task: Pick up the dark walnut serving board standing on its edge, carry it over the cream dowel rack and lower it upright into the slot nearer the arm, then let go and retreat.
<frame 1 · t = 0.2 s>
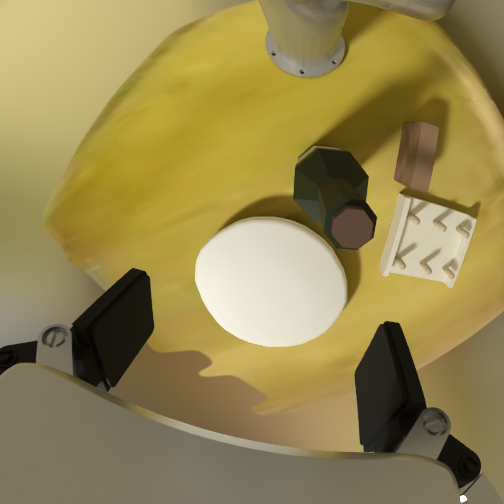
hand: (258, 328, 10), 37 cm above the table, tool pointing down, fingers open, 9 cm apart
wine bottle: (321, 169, 42), on the table
rack: (426, 239, 42), on the table
plate: (272, 280, 52), on the table
walnut board: (406, 153, 38), on the table
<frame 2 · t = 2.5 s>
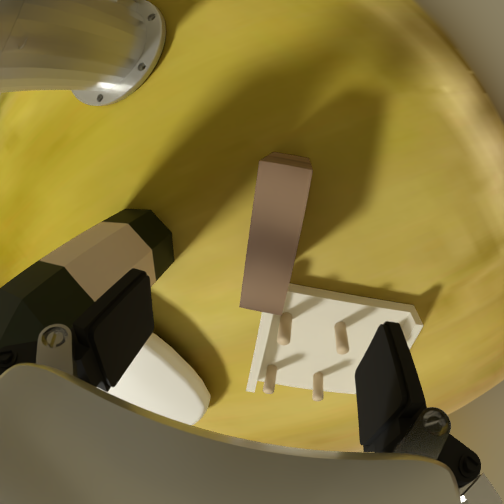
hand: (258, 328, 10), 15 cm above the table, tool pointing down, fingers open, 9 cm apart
wine bottle: (142, 243, 28), on the table
rack: (327, 343, 29), on the table
plate: (130, 361, 38), on the table
walnut board: (281, 210, 24), on the table
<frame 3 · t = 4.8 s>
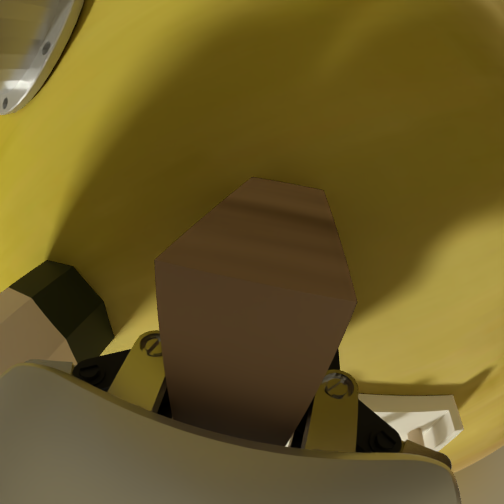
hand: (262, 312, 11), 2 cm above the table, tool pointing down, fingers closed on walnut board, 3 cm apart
wine bottle: (74, 306, 17), on the table
rack: (332, 439, 18), on the table
walnut board: (269, 286, 13), on the table, touching gripper
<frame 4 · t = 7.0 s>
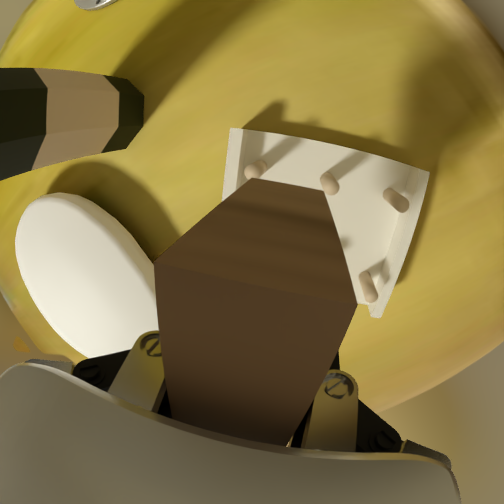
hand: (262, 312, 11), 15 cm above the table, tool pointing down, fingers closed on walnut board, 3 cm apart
wine bottle: (115, 115, 24), on the table
rack: (316, 219, 24), on the table
plate: (94, 281, 34), on the table
walnut board: (268, 287, 13), point 13 cm above the table, touching gripper
when the fingers open (5 cm above the table, at t = 9.3 s): walnut board drops 2 cm, resting on rack.
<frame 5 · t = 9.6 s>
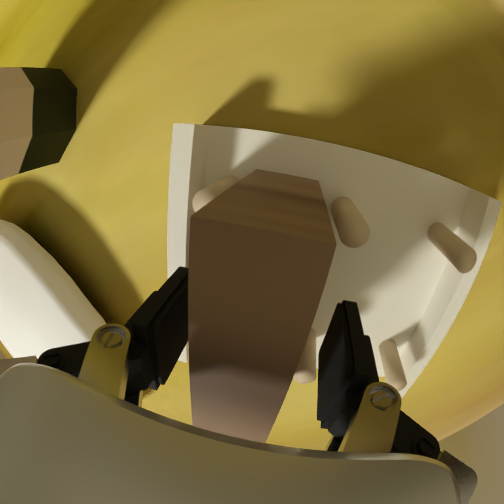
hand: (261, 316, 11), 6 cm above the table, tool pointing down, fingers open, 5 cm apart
wine bottle: (48, 118, 15), on the table
rack: (322, 266, 16), on the table
plate: (51, 318, 25), on the table
walnut board: (271, 267, 15), point 2 cm above the table, touching rack
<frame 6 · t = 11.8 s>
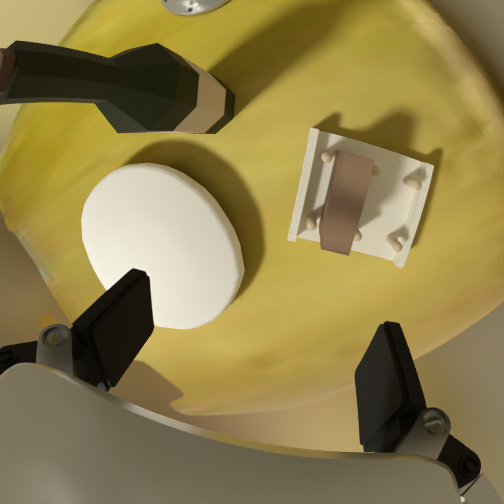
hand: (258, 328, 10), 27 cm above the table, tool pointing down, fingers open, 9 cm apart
wine bottle: (206, 106, 33), on the table
rack: (358, 196, 33), on the table
plate: (161, 246, 42), on the table
walnut board: (339, 191, 32), point 1 cm above the table, touching rack
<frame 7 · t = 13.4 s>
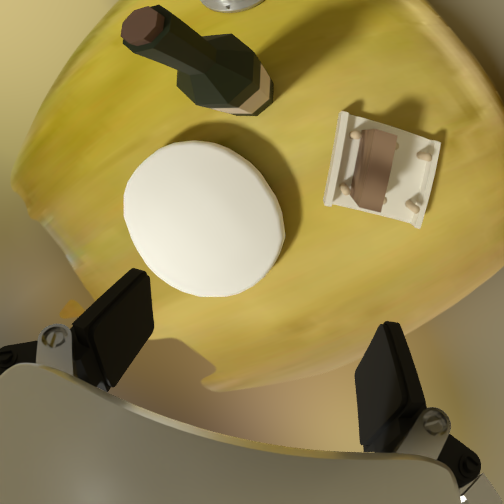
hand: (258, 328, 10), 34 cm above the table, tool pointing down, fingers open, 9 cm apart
wine bottle: (248, 92, 37), on the table
rack: (380, 168, 37), on the table
plate: (203, 218, 47), on the table
walnut board: (365, 164, 36), point 1 cm above the table, touching rack
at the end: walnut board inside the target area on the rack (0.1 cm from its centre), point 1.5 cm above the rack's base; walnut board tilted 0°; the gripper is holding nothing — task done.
